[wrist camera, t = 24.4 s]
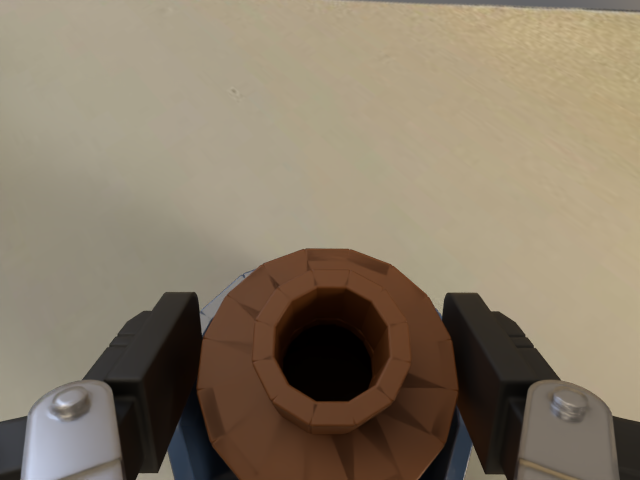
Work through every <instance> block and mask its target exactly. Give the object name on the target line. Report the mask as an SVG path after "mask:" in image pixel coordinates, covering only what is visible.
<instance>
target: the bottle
mask: <svg viewBox="0 0 640 480" xmlns="http://www.w3.org/2000/svg"><path fill="white" fill-rule="evenodd" d="M203 338H204V339H203V340H202V345H201V353H200V362H199V370H198V378H197V386H196V389H197V396H198V400H199V404H200V407H201V411H202V415H203V418H204V422H205V426H206V429H207V433H208V436H209V440H210V442H211V443H212V447H213V448H214V449H215V450H216V452H217V453H218V454H219V455H220V456H221V458H222V459H223V460H224V461H225V463H226V464H227V465H228V466H229V468H230V469H231V470H232V471H233V473H234V474H235V475H236V476H237V478H238V479H239V480H418V479H419V478H420V477H421V475H422V474H423V473H424V472H425V470H426V469H427V468H428V466H429V465H430V464H431V463H432V461H433V460H434V459H435V458H436V456H437V455H438V454H439V453H440V451H441V450H442V449H443V447H444V445H445V443H446V442H447V438H448V434H449V430H450V426H451V422H452V418H453V415H454V411H455V407H456V403H457V399H458V395H459V392H458V391H459V385H458V377H457V370H456V363H455V355H454V348H453V342H452V340H451V336H450V334H449V333H448V331H447V329H446V327H445V325H444V324H443V322H442V320H441V318H440V316H439V314H438V313H437V311H436V309H435V307H434V305H433V303H432V302H431V300H430V298H429V297H427V294H425V293H424V292H423V291H422V290H421V289H420V288H419V287H417V286H416V285H415V284H414V283H413V282H412V281H410V280H409V279H408V278H407V277H406V276H405V275H403V274H402V273H401V272H400V271H399V270H398V269H397V268H395V267H394V266H392V265H391V264H389V263H386V262H383V261H381V260H378V259H375V258H373V257H370V256H367V255H365V254H362V253H359V252H357V251H354V250H351V249H350V250H349V249H302V250H299V251H296V252H294V253H291V254H288V255H285V256H283V257H280V258H277V259H274V260H272V261H269V262H266V263H264V264H263V265H260V266H259V267H258V268H257V269H256V270H254V271H253V272H252V273H251V274H250V275H249V276H247V277H246V278H245V279H244V280H243V281H242V282H240V283H239V284H238V285H237V286H236V287H235V288H233V289H232V290H231V291H230V292H229V293H228V294H227V295H226V296H225V298H224V299H223V301H222V303H221V305H220V307H219V309H218V310H217V312H216V314H215V316H214V318H213V320H212V322H211V323H210V325H209V327H208V329H207V331H206V333H205V334H204V336H203Z"/></svg>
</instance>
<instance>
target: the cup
mask: <svg viewBox="0 0 640 480" xmlns="http://www.w3.org/2000/svg"><path fill="white" fill-rule="evenodd" d="M254 270H256V269H254ZM254 270H252V271H249V272H246V273H244V274H243V275H241V276H239V277H238V278H237V279H236V280H235V281H234V282H233V283H231V284H230V285H229V286H228V287H227V288H226V289H225V290H224V291H222V292H221V293H220V294H219V295H218V296H217V297H216V298H214V299H213V300H212V301H211V302H210V303H209V304H208V305H206V306H205V307H204V308H203V309H202V310H201V311H200V320H201V330H202V339H204V338H203V336H204V334H205V333H206V331H207V329H208V327H209V325H210V323H211V322H212V320H213V318H214V316H215V314H216V312H217V310H218V309H219V307H220V305H221V303H222V301H223V299H224V298H225V296H226V295H227V294H228V293H229V292H230V291H231V290H232V289H233V288H235V287H236V286H237V285H238V284H239V283H240V282H242V281H243V280H244V279H245V278H246V277H247V276H249V275H250V274H251V273H252V272H253V271H254ZM435 309H436V308H435ZM436 311H437V313H438V314H439V316H440V318H441V320H442V316H441V314H440V313H439V312H438V310H437V309H436ZM197 378H198V375H197ZM197 378H196V380H195V383H194V385H193V388H192V390H191V393H190V395H189V398H188V400H187V403H186V405H185V408H184V410H183V412H182V415H181V417H180V420H179V422H178V425H177V427H176V430H175V432H174V435H173V437H172V440H171V442H170V444H169V447H168V449H167V451H168V455H169V459H170V463H171V468H172V472H173V476H174V480H239V479H238V478H237V476H236V475H235V474H234V473H233V471H232V470H231V469H230V468H229V466H228V465H227V464H226V463H225V461H224V460H223V459H222V458H221V456H220V455H219V454H218V453H217V452H216V450H215V449H214V448H213V447H212V443H211V442H210V440H209V436H208V433H207V429H206V426H205V422H204V418H203V415H202V411H201V407H200V404H199V400H198V396H197V389H196V386H197ZM472 447H473V443H472V441H471V438H470V436H469V433H468V431H467V429H466V426H465V424H464V421H463V419H462V417H461V414H460V412H459V409H458V407H457V404H456V407H455V411H454V415H453V418H452V422H451V426H450V430H449V434H448V438H447V442H446V443H445V445H444V447H443V449H442V450H441V451H440V453H439V454H438V455H437V456H436V458H435V459H434V460H433V461H432V463H431V464H430V465H429V466H428V468H427V469H426V470H425V472H424V473H423V474H422V475H421V477H420V478H419V479H418V480H464V479H465V475H466V471H467V467H468V463H469V459H470V455H471V451H472Z"/></svg>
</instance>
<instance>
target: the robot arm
mask: <svg viewBox="0 0 640 480" xmlns="http://www.w3.org/2000/svg"><path fill="white" fill-rule="evenodd" d="M442 322H443V324H444V325H445V327H446V329H447V331H448V333H449V334H450V336H451V340H452V342H453V348H454V355H455V363H456V370H457V377H458V385H459V391H458V392H459V395H458V399H457V403H456V404H457V407H458V409H459V412H460V414H461V417H462V419H463V421H464V424H465V426H466V429H467V431H468V433H469V436H470V438H471V441H472V443H473V446H474V448H475V450H476V453H477V455H478V458H479V460H480V463H481V465H482V467H483V470H484V472H485V474H505V476H506V478H507V480H640V422H637V421H632V420H627V419H623V418H619V417H615V416H612V413H611V411H610V409H609V407H608V406H607V405H606V404H605V403H604V402H603V401H602V400H601V399H600V398H599V397H598V396H596V395H595V394H593V393H592V392H590V391H589V390H587V389H585V388H583V387H580V386H578V385H575V384H572V383H569V382H565V381H561V380H560V378H559V377H558V376H557V375H556V373H555V372H554V371H553V369H552V368H551V367H550V366H549V364H548V363H547V362H546V361H545V359H544V358H543V357H542V355H541V354H540V353H539V352H538V350H537V349H536V348H534V345H533V344H532V343H531V341H530V340H529V339H528V338H527V337H525V334H524V332H523V331H522V330H521V329H520V327H519V326H518V325H517V324H516V322H514V321H513V320H511V319H510V318H508V317H507V316H505V315H503V314H502V313H500V312H491V311H490V309H489V308H488V307H487V305H486V304H485V303H484V301H483V300H482V298H481V297H480V296H479V294H478V293H447V294H446V296H445V299H444V306H443V315H442ZM202 340H203V339H202V330H201V320H200V311H199V302H198V297H197V294H196V293H195V292H166V293H164V294H163V296H162V297H161V299H160V300H159V301H158V303H157V304H156V306H155V307H154V309H153V310H152V311H143V312H141V313H140V314H138V315H137V316H135V317H134V318H132V319H131V320H129V321H128V322H127V323H126V324H125V325H124V327H123V328H122V329H121V330H120V332H119V333H118V336H117V337H115V338H114V339H113V341H112V342H111V343H110V345H109V347H107V348H106V350H105V351H104V352H103V354H102V355H101V356H100V357H99V359H98V360H97V361H96V363H95V364H94V365H93V366H92V368H91V369H90V370H89V372H88V373H87V374H86V375H85V377H84V378H83V379H82V380H80V381H75V382H71V383H68V384H65V385H62V386H60V387H57V388H55V389H53V390H51V391H50V392H48V393H47V394H45V395H44V396H42V397H41V398H40V399H39V400H38V401H37V402H36V403H35V404H34V405H33V406H32V407H31V409H30V411H29V413H28V416H25V417H20V418H16V419H11V420H6V421H2V422H0V480H136V478H137V476H138V473H158V472H159V469H160V467H161V464H162V462H163V459H164V457H165V454H166V452H167V449H168V447H169V444H170V442H171V440H172V437H173V435H174V432H175V430H176V427H177V425H178V422H179V420H180V417H181V415H182V412H183V410H184V408H185V405H186V403H187V400H188V398H189V395H190V393H191V390H192V388H193V385H194V383H195V380H196V378H197V375H198V370H199V362H200V353H201V345H202Z"/></svg>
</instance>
